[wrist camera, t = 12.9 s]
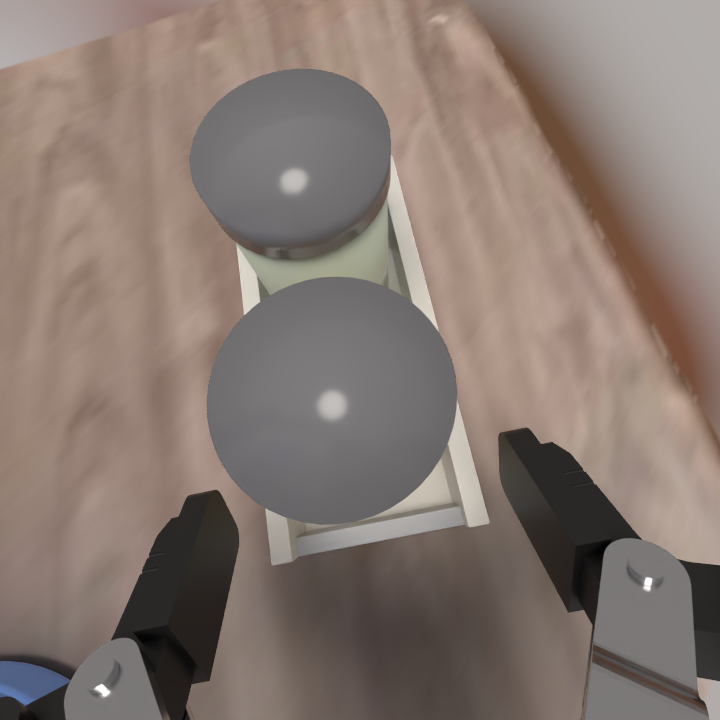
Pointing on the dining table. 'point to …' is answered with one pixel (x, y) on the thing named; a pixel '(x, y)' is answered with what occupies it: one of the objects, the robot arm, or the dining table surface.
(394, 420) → the honey jar
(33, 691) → the water jug
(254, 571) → the dining table surface
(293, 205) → the sage jar
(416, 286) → the jar lane
